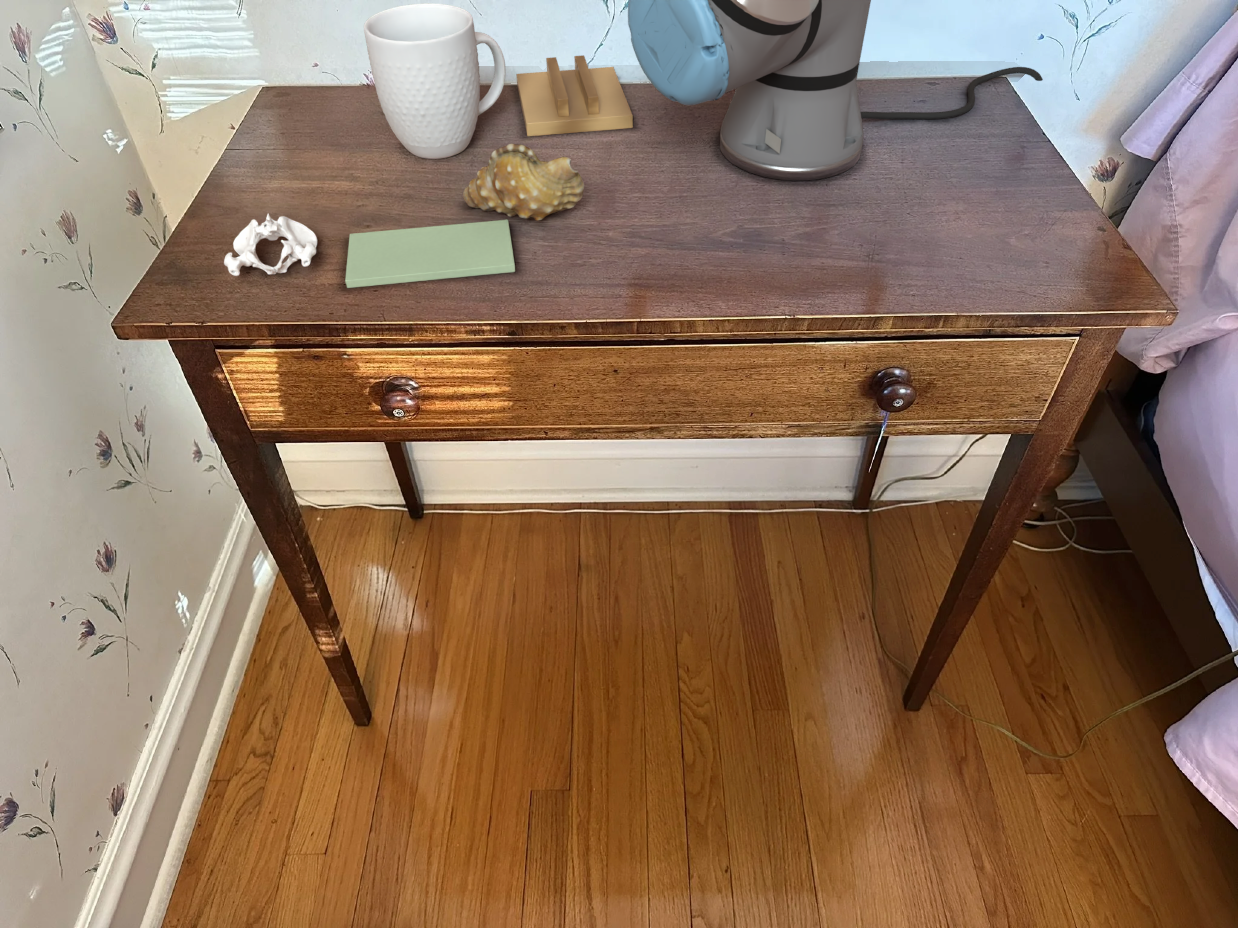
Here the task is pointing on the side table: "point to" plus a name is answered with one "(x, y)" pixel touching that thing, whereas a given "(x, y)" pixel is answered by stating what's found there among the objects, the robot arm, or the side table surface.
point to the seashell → (524, 184)
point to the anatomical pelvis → (296, 247)
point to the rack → (572, 99)
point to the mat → (429, 253)
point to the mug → (430, 75)
